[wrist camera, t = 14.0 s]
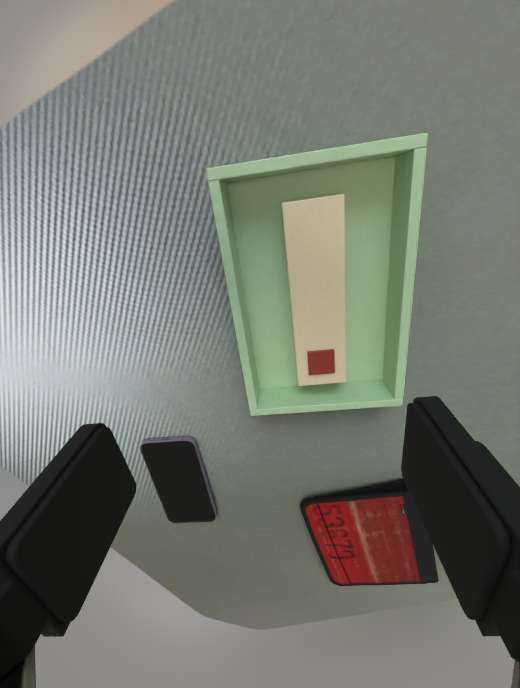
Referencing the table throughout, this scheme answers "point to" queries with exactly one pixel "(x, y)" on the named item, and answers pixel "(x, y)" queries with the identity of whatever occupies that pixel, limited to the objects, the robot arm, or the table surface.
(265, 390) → the bin
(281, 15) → the table surface
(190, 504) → the smartphone
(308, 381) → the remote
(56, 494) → the robot arm
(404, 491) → the binder
